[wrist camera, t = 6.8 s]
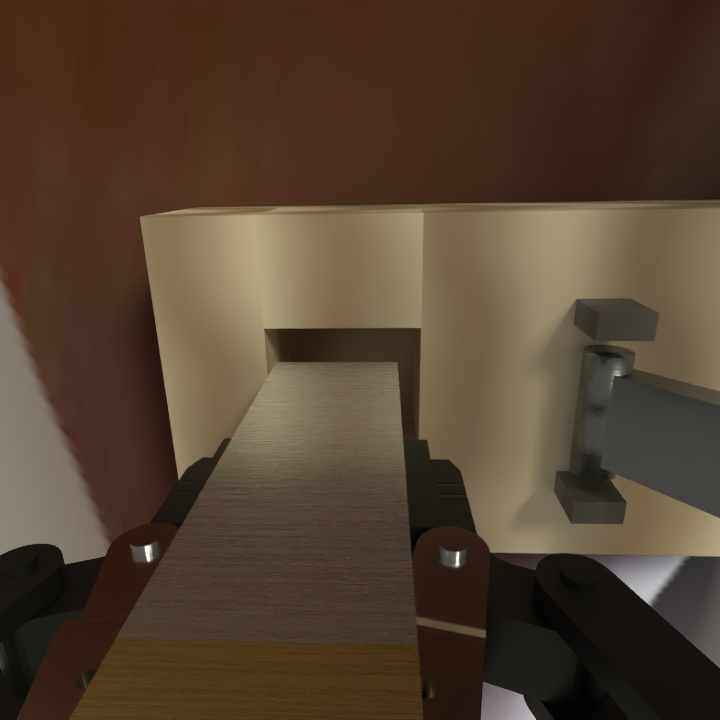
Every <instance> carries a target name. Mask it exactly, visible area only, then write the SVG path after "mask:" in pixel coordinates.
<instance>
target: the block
mask: <svg viewBox="0 0 720 720" xmlns="http://www.w3.org/2000/svg"><path fill="white" fill-rule="evenodd" d="M140 221H141V228H142V235H143V242H144V248H145V255H146V262H147V269H148V275H149V282H150V289H151V296H152V302H153V309H154V316H155V323H156V330H157V336H158V343H159V350H160V357H161V363H162V370H163V377H164V384H165V390H166V397H167V404H168V411H169V418H170V424H171V431H172V438H173V445H174V451H175V458H176V465H177V472H178V478H179V479H180V478H181V476H182V475H183V473H184V472H185V470H186V469H187V468H188V467H189V466H191V465H192V464H194V463H195V462H197V461H198V460H199V459H201V458H202V457H213V456H214V454H215V453H216V451H217V449H218V448H219V446H220V444H221V443H222V441H223V440H224V439H225V438H232V437H233V436H234V434H235V432H236V430H237V429H238V427H239V425H240V424H241V422H242V420H243V418H244V417H245V415H246V413H247V411H248V410H249V408H250V406H251V405H252V403H253V401H254V399H255V398H256V396H257V394H258V392H259V391H260V389H261V387H262V386H263V384H264V382H265V380H266V379H267V377H268V375H269V374H270V372H271V370H272V368H273V367H274V365H275V363H276V362H397V363H398V377H399V391H400V405H401V418H402V432H403V439H420V440H427V441H428V447H429V453H430V459H449V460H450V461H451V462H452V463H453V464H454V465H455V466H456V467H457V468H458V469H459V470H460V471H461V474H462V478H463V482H464V486H465V489H466V493H467V497H468V501H469V505H470V509H471V512H472V516H473V520H474V524H475V528H476V532H477V535H478V536H480V537H481V538H482V539H483V540H484V541H485V542H486V543H487V545H488V547H489V550H490V553H547V554H557V553H571V554H608V555H670V556H720V518H718V517H716V516H713V515H711V514H709V513H706V512H704V511H702V510H699V509H697V508H695V507H692V506H690V505H688V504H685V503H683V502H681V501H678V500H676V499H673V498H671V497H669V496H666V495H664V494H662V493H659V492H657V491H655V490H652V489H650V488H648V487H645V486H643V485H640V484H638V483H636V482H633V481H631V480H629V479H626V478H624V477H622V476H619V475H617V474H616V477H615V478H614V479H612V480H610V481H605V482H596V481H590V480H586V479H583V478H581V477H578V476H577V475H575V474H574V473H572V472H571V470H570V469H569V461H570V453H571V445H572V437H573V429H574V421H575V413H576V405H577V398H578V390H579V382H580V374H581V366H582V358H583V350H584V348H585V347H586V346H590V345H613V346H619V347H623V348H627V349H629V350H631V351H633V352H634V353H635V360H634V366H633V369H637V370H641V371H645V372H648V373H652V374H656V375H660V376H664V377H667V378H671V379H675V380H679V381H682V382H686V383H690V384H694V385H698V386H701V387H705V388H709V389H713V390H717V391H720V199H711V200H646V201H582V202H517V203H453V204H388V205H324V206H259V207H196V208H190V209H184V210H178V211H172V212H166V213H160V214H154V215H148V216H142V217H140Z"/></svg>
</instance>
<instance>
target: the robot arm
mask: <svg viewBox="0 0 720 720" xmlns="http://www.w3.org/2000/svg"><path fill="white" fill-rule="evenodd" d="M231 439H232V438H225V439H224V440H223V441H222V443H221V444H220V446H219V448H218V449H217V451H216V453H215V454H214V456H213V457H202V458H201V459H199V460H198V461H197V462H195V463H194V464H192V465H191V466H189V467H188V468H187V469H186V470H185V472H184V473H183V475H182V476H181V478H180V479H179V483H177V484H176V485H175V487H174V488H173V490H172V494H169V496H168V497H167V499H166V500H165V502H164V503H163V505H162V506H161V508H160V509H159V511H158V512H157V514H156V515H155V516H154V518H153V519H152V521H151V522H150V523H149V524H145V525H141V526H138V527H135V528H133V529H130V530H128V531H127V532H125V533H123V534H122V535H120V536H119V537H118V538H117V539H115V540H114V541H113V543H112V544H111V545H110V547H109V549H108V551H107V554H106V556H105V557H100V558H96V559H91V560H86V561H81V562H76V563H71V564H66V565H65V564H64V559H63V555H62V552H61V550H60V549H59V548H58V547H56V546H54V545H50V544H33V545H27V546H23V547H19V548H16V549H13V550H11V551H8V552H6V553H4V554H2V555H0V667H1V668H0V720H69V718H70V717H71V715H72V713H73V711H74V710H75V708H76V706H77V705H78V703H79V701H80V699H81V698H82V696H83V694H84V693H85V691H86V689H87V687H88V686H89V684H90V682H91V680H92V679H93V677H94V675H95V674H96V672H97V670H98V668H99V667H100V665H101V663H102V661H103V660H104V658H105V656H106V655H107V653H108V651H109V649H110V648H111V646H112V644H113V643H114V641H115V639H116V637H117V636H118V634H119V632H120V630H121V629H122V627H123V625H124V624H125V622H126V620H127V618H128V617H129V615H130V613H131V611H132V610H133V608H134V606H135V605H136V603H137V601H138V599H139V598H140V596H141V594H142V593H143V591H144V589H145V587H146V586H147V584H148V582H149V580H150V579H151V577H152V575H153V574H154V572H155V570H156V568H157V567H158V565H159V563H160V561H161V560H162V558H163V556H164V555H165V553H166V551H167V549H168V548H169V546H170V544H171V543H172V541H173V539H174V537H175V536H176V534H177V532H178V530H179V529H180V527H181V525H182V524H183V522H184V520H185V518H186V517H187V515H188V513H189V511H190V510H191V508H192V506H193V505H194V503H195V501H196V499H197V498H198V496H199V494H200V492H201V491H202V489H203V487H204V486H205V484H206V482H207V480H208V479H209V477H210V475H211V474H212V472H213V470H214V468H215V467H216V465H217V463H218V461H219V460H220V458H221V456H222V455H223V453H224V451H225V449H226V448H227V446H228V444H229V442H230V441H231ZM403 446H404V459H405V473H406V487H407V501H408V514H409V528H410V542H411V556H412V569H413V583H414V597H415V610H416V624H417V638H418V652H419V665H420V679H421V693H422V707H423V720H480V719H481V703H482V687H483V682H486V683H489V684H492V685H495V686H498V687H501V688H504V689H508V690H511V691H514V692H517V693H520V694H523V696H524V699H525V702H526V704H527V706H528V707H529V709H530V711H531V712H532V714H533V715H534V717H535V718H536V720H720V668H719V667H718V666H716V665H715V664H714V663H713V662H712V661H711V660H710V659H709V658H707V657H706V656H705V655H704V654H703V653H702V652H701V651H700V650H699V649H697V648H696V647H695V646H694V645H693V644H692V643H691V642H689V641H688V640H687V639H686V638H685V637H684V636H683V635H682V634H680V633H679V632H678V631H677V630H676V629H675V628H674V627H673V626H672V625H670V624H669V623H668V622H667V621H666V620H665V619H664V618H663V617H661V616H660V615H659V614H658V613H657V612H656V611H655V610H654V609H653V608H652V607H650V606H649V605H648V604H647V603H646V602H645V601H644V600H643V599H641V598H640V597H639V596H638V595H637V594H636V593H635V592H634V591H632V590H631V589H630V588H629V587H628V586H627V585H626V584H625V583H624V582H622V581H621V580H620V579H619V578H618V577H617V576H616V575H615V574H613V573H612V572H611V571H610V570H609V569H608V568H606V567H605V566H604V565H602V564H600V563H599V562H597V561H595V560H593V559H590V558H588V557H585V556H581V555H577V554H571V553H557V554H552V555H549V556H547V557H545V558H543V559H542V560H541V561H540V562H539V563H538V565H537V568H536V570H532V569H528V568H524V567H520V566H516V565H512V564H509V563H507V562H504V561H502V560H500V559H498V558H496V557H495V556H493V555H492V554H490V550H489V547H488V545H487V543H486V542H485V541H484V540H483V539H482V538H481V537H480V536H478V535H477V532H476V528H475V524H474V520H473V516H472V512H471V509H470V505H469V501H468V497H467V493H466V489H465V486H464V482H463V478H462V474H461V471H460V470H459V469H458V468H457V467H456V466H455V465H454V464H453V463H452V462H451V461H450V460H449V459H430V453H429V447H428V441H427V440H420V439H403Z"/></svg>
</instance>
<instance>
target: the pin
mask: <svg viewBox="0 0 720 720" xmlns="http://www.w3.org/2000/svg"><path fill="white" fill-rule="evenodd" d="M69 720H423V707H422V693H421V679H420V665H419V652H418V638H417V624H416V610H415V597H414V583H413V569H412V556H411V542H410V528H409V514H408V501H407V487H406V473H405V459H404V446H403V432H402V418H401V405H400V391H399V377H398V363H397V362H276V363H275V365H274V367H273V368H272V370H271V372H270V374H269V375H268V377H267V379H266V380H265V382H264V384H263V386H262V387H261V389H260V391H259V392H258V394H257V396H256V398H255V399H254V401H253V403H252V405H251V406H250V408H249V410H248V411H247V413H246V415H245V417H244V418H243V420H242V422H241V424H240V425H239V427H238V429H237V430H236V432H235V434H234V436H233V437H232V439H231V441H230V442H229V444H228V446H227V448H226V449H225V451H224V453H223V455H222V456H221V458H220V460H219V461H218V463H217V465H216V467H215V468H214V470H213V472H212V474H211V475H210V477H209V479H208V480H207V482H206V484H205V486H204V487H203V489H202V491H201V492H200V494H199V496H198V498H197V499H196V501H195V503H194V505H193V506H192V508H191V510H190V511H189V513H188V515H187V517H186V518H185V520H184V522H183V524H182V525H181V527H180V529H179V530H178V532H177V534H176V536H175V537H174V539H173V541H172V543H171V544H170V546H169V548H168V549H167V551H166V553H165V555H164V556H163V558H162V560H161V561H160V563H159V565H158V567H157V568H156V570H155V572H154V574H153V575H152V577H151V579H150V580H149V582H148V584H147V586H146V587H145V589H144V591H143V593H142V594H141V596H140V598H139V599H138V601H137V603H136V605H135V606H134V608H133V610H132V611H131V613H130V615H129V617H128V618H127V620H126V622H125V624H124V625H123V627H122V629H121V630H120V632H119V634H118V636H117V637H116V639H115V641H114V643H113V644H112V646H111V648H110V649H109V651H108V653H107V655H106V656H105V658H104V660H103V661H102V663H101V665H100V667H99V668H98V670H97V672H96V674H95V675H94V677H93V679H92V680H91V682H90V684H89V686H88V687H87V689H86V691H85V693H84V694H83V696H82V698H81V699H80V701H79V703H78V705H77V706H76V708H75V710H74V711H73V713H72V715H71V717H70V718H69Z"/></svg>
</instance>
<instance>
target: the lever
mask: <svg viewBox="0 0 720 720" xmlns="http://www.w3.org/2000/svg"><path fill="white" fill-rule="evenodd" d="M634 360H635V353H634V352H633V351H631V350H629V349H627V348H623V347H619V346H613V345H590V346H586V347H585V348H584V350H583V358H582V366H581V374H580V382H579V390H578V398H577V405H576V413H575V421H574V429H573V437H572V445H571V453H570V461H569V469H570V470H571V472H572V473H574V474H575V475H577V476H578V477H581V478H583V479H586V480H590V481H596V482H605V481H610V480H612V479H614V478H615V477H616V474H617V475H619V476H622V477H624V478H626V479H629V480H631V481H633V482H636V483H638V484H640V485H643V486H645V487H648V488H650V489H652V490H655V491H657V492H659V493H662V494H664V495H666V496H669V497H671V498H673V499H676V500H678V501H681V502H683V503H685V504H688V505H690V506H692V507H695V508H697V509H699V510H702V511H704V512H706V513H709V514H711V515H713V516H716V517H718V518H720V391H717V390H713V389H709V388H705V387H701V386H698V385H694V384H690V383H686V382H682V381H679V380H675V379H671V378H667V377H664V376H660V375H656V374H652V373H648V372H645V371H641V370H637V369H633V366H634Z"/></svg>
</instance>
